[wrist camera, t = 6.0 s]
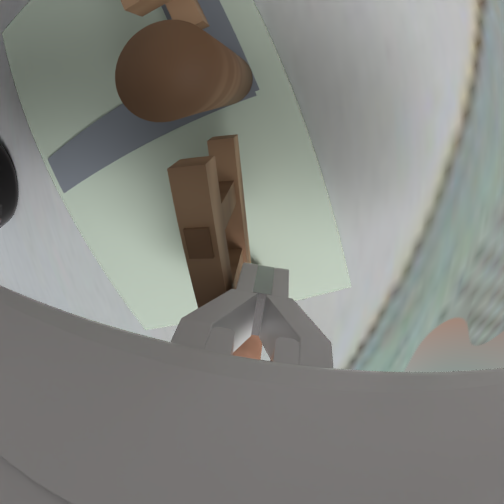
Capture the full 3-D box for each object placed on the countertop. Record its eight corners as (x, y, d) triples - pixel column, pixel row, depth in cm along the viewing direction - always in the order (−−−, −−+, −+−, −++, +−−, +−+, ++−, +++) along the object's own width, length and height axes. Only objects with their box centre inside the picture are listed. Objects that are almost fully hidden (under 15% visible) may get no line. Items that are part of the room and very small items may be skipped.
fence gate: (200, 136, 12) (132, 179, 6) (256, 130, 11) (229, 168, 6) (226, 299, 16) (201, 394, 11) (269, 299, 16) (259, 398, 11)
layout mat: (5, 32, 9) (0, 33, 8) (190, -102, 5) (188, -106, 5) (146, 327, 19) (144, 331, 19) (350, 283, 16) (351, 288, 15)
